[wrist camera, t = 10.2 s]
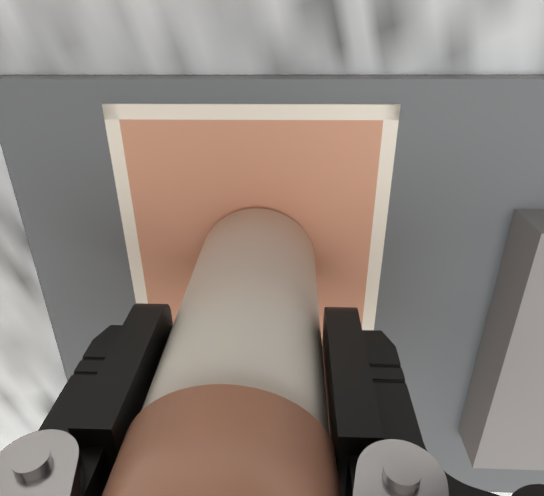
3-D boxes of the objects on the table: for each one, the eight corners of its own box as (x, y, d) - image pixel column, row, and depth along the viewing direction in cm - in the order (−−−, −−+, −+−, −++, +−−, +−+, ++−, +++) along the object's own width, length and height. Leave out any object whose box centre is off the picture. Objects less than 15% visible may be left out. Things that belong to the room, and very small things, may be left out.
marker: (203, 308, 15) (73, 751, 6) (193, 204, 13) (-7, 608, 4) (316, 310, 15) (348, 768, 6) (320, 205, 13) (375, 624, 4)
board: (101, 461, 20) (79, 514, 18) (-1, 75, 13) (-58, 89, 11) (668, 480, 19) (714, 539, 17) (912, 74, 12) (1044, 90, 10)
